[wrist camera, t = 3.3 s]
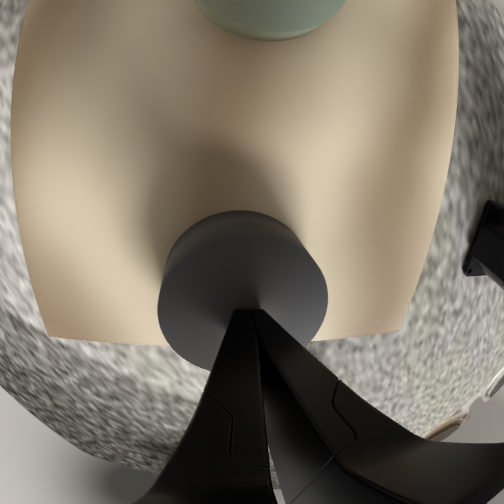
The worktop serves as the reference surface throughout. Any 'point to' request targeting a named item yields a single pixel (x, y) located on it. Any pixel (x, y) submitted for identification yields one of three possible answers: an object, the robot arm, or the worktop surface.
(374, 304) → the board
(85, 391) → the worktop surface
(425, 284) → the worktop surface
